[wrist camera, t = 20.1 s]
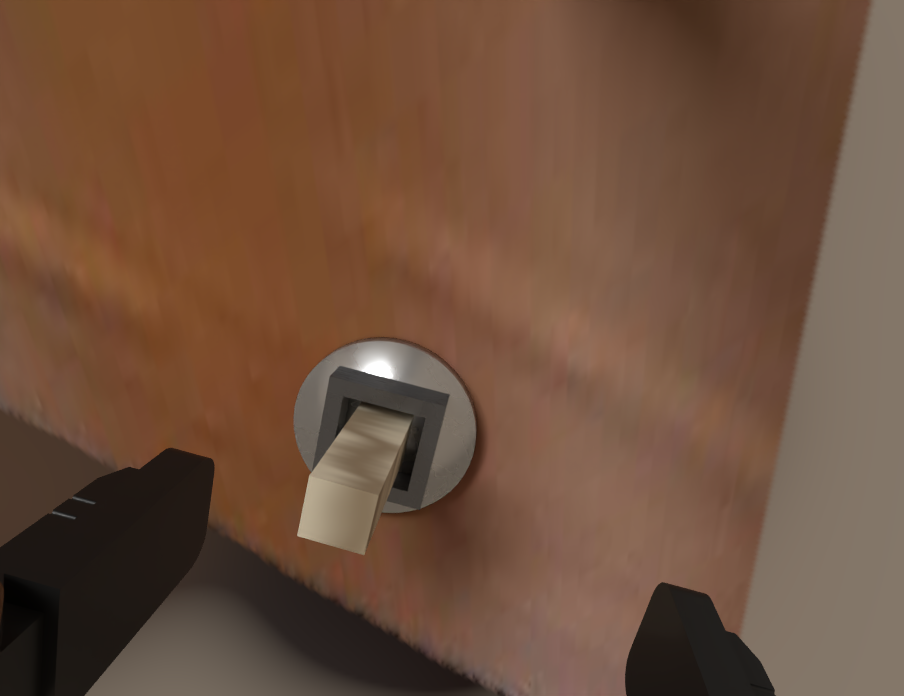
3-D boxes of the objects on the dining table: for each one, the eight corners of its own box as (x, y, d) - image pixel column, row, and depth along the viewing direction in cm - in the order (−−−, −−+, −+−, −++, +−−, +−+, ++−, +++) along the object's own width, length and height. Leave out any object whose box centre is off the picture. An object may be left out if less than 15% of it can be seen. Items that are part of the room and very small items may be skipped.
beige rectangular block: (352, 446, 46) (297, 535, 34) (363, 399, 44) (309, 475, 33) (402, 460, 46) (364, 555, 34) (414, 413, 44) (378, 495, 33)
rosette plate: (286, 479, 48) (268, 502, 45) (315, 316, 44) (297, 328, 41) (453, 524, 48) (448, 551, 44) (497, 364, 44) (495, 380, 40)
